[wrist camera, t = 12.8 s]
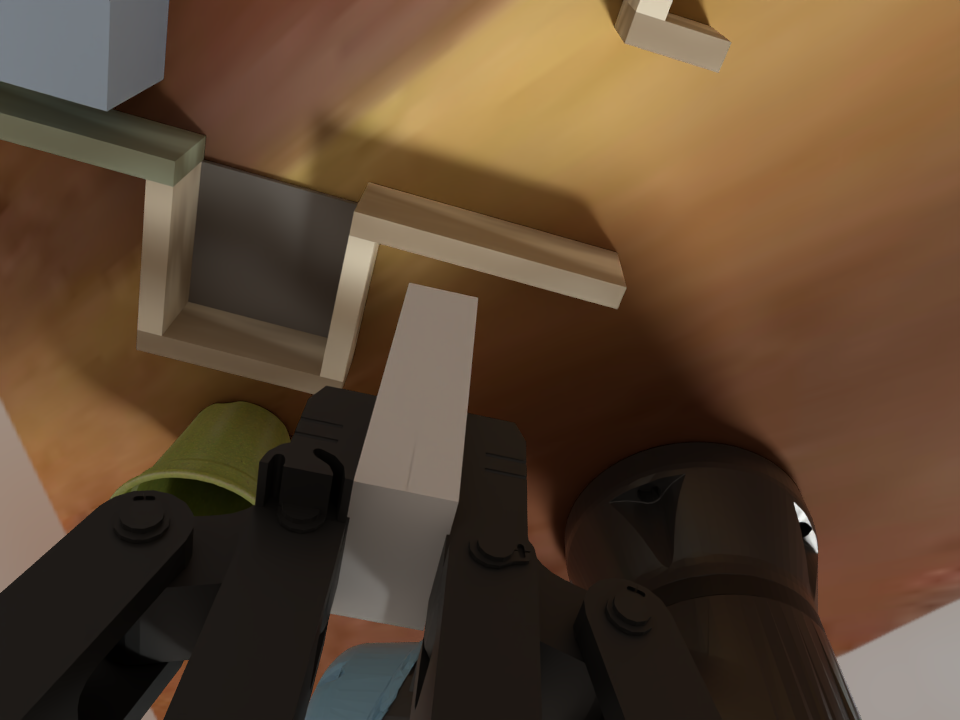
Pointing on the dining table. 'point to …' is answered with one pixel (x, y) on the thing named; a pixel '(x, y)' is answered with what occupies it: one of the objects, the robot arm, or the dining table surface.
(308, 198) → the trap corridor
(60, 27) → the block
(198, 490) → the plant pot
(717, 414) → the dining table surface
